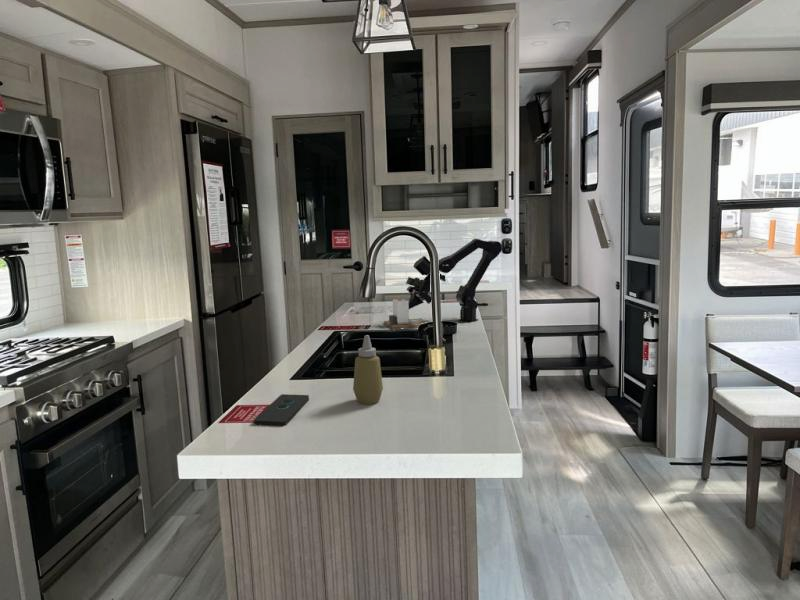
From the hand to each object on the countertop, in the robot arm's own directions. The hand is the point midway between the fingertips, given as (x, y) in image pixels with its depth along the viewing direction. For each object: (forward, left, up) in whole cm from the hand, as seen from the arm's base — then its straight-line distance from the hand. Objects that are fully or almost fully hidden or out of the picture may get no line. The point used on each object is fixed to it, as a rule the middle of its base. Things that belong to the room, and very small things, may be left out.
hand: (406, 309), depth 254 cm
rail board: (0, -1, -7) cm, 7 cm away
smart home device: (-49, +102, -8) cm, 113 cm away
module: (+1, +2, -6) cm, 6 cm away
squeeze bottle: (-60, +82, -7) cm, 102 cm away
